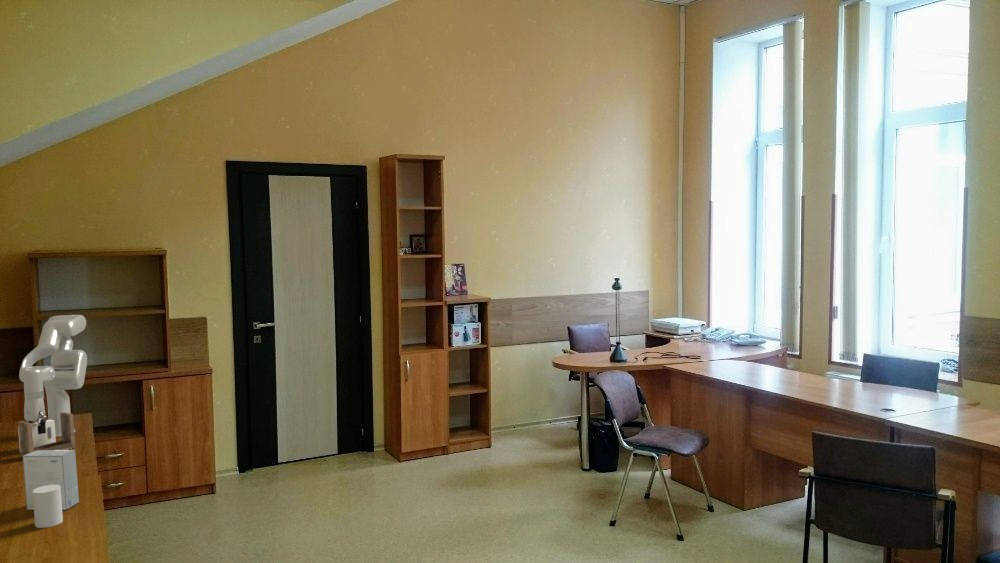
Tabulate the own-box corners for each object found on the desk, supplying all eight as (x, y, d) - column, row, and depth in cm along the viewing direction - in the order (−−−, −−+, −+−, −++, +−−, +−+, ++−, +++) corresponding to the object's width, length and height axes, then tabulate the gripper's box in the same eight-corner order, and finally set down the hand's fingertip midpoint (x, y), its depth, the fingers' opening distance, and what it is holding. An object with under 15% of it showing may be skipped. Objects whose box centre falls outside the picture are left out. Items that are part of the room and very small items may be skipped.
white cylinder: (42, 519, 257) (40, 485, 257) (67, 517, 258) (65, 484, 257) (30, 528, 249) (27, 493, 248) (55, 527, 250) (52, 492, 249)
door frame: (21, 457, 331) (18, 422, 330) (65, 445, 347) (63, 412, 346) (30, 460, 326) (27, 424, 325) (75, 448, 343) (73, 414, 342)
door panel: (19, 452, 339) (18, 426, 338) (51, 444, 351) (50, 419, 350) (24, 453, 336) (22, 427, 335) (56, 445, 348) (55, 420, 347)
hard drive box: (80, 502, 272) (76, 449, 271) (65, 510, 265) (62, 456, 263) (40, 502, 274) (36, 449, 272) (25, 510, 266) (21, 455, 265)
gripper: (16, 395, 343) (18, 432, 344) (35, 398, 334) (37, 436, 334) (33, 392, 349) (35, 428, 350) (52, 395, 340) (54, 432, 341)
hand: (36, 432), depth 342 cm, fingers open, 9 cm apart
